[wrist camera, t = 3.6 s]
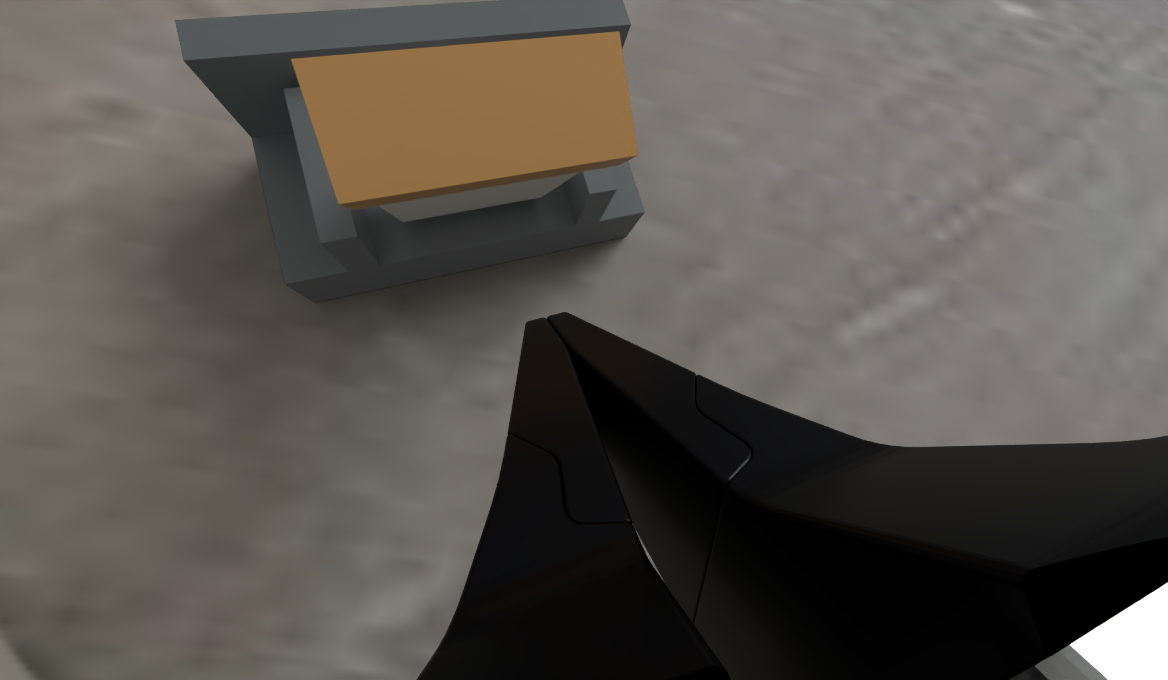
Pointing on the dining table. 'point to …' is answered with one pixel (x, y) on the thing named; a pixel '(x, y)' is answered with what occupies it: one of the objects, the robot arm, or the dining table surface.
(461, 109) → the breaker lever
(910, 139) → the dining table surface
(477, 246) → the breaker box
